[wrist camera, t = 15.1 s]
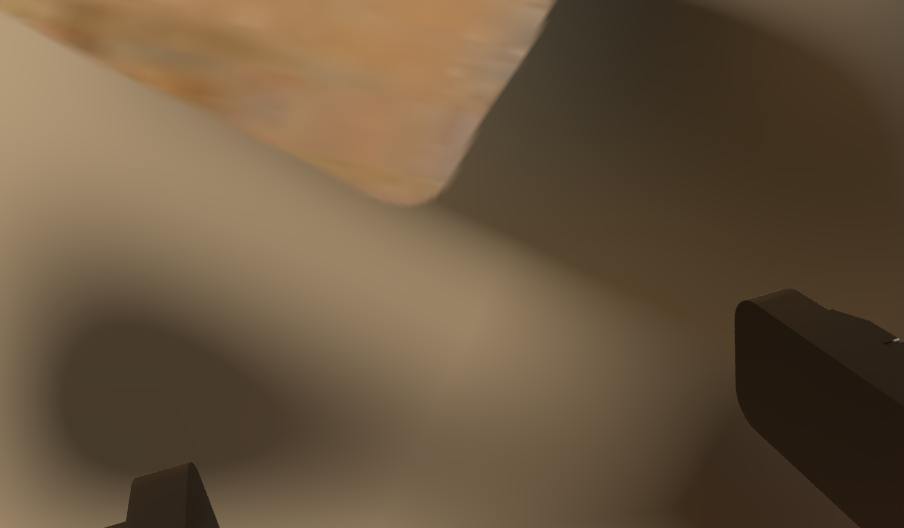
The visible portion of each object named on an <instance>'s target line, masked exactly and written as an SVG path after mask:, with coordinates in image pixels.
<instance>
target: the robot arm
mask: <svg viewBox="0 0 904 528" xmlns="http://www.w3.org/2000/svg"><path fill="white" fill-rule="evenodd" d="M735 381H736V383H735V384H736V395H737V399H738V403H739V406H740V408H741V411H742V413H743V415H744V417H745V418H746V420H747V421H748V423H749V424H750V425H751V427H752V428H753V429H754V430H755V431H756V432H757V433H758V434H759V435H760V436H761V437H763V438H764V439H765V440H766V441H767V442H768V443H769V444H770V445H771V446H772V447H774V449H776V450H777V451H778V452H779V453H780V454H781V455H782V456H783V457H784V458H785V459H786V460H787V461H788V462H790V463H791V464H792V465H793V466H794V467H795V468H796V469H797V470H798V471H799V472H800V473H801V474H802V475H804V476H805V477H806V478H807V479H808V480H809V481H810V482H811V483H812V484H814V486H815V487H816V488H818V489H819V490H820V491H821V492H822V493H823V494H824V495H825V496H826V497H827V498H828V499H829V500H831V501H832V502H833V503H834V504H835V505H836V506H837V507H838V508H839V509H840V510H841V511H842V512H844V513H845V514H846V515H847V516H848V517H849V518H850V519H851V520H852V521H853V522H855V524H857V526H859V527H860V528H904V342H902V343H900V341H899V338H897V337H896V336H894V335H892V334H891V333H889V332H887V331H886V330H884V329H882V328H881V327H879V326H877V325H875V324H874V323H872V322H871V321H868V320H865V319H861V318H858V317H855V316H852V315H849V314H845V313H842V312H839V311H836V310H827V309H826V308H824V307H822V306H821V305H819V304H818V303H816V302H814V301H813V300H811V299H809V298H808V297H806V296H805V295H803V294H801V293H800V292H798V291H796V290H794V289H791V288H785V289H782V290H778V291H775V292H772V293H768V294H765V295H762V296H758V297H755V298H752V299H748V300H745V301H742V302H740V303H739V304H738V306H737V308H736V311H735ZM106 528H220V527H219V525H218V522H217V519H216V516H215V514H214V511H213V508H212V506H211V503H210V501H209V498H208V496H207V493H206V490H205V487H204V485H203V482H202V479H201V477H200V474H199V472H198V469H197V467H196V466H195V464H194V463H193V462H188V463H185V464H181V465H178V466H174V467H171V468H168V469H164V470H161V471H157V472H154V473H151V474H148V475H144V476H140V477H137V478H135V479H134V480H133V482H132V487H131V493H130V499H129V505H128V512H127V518H126V522H123V523H119V524H116V525H113V526H109V527H106Z"/></svg>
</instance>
